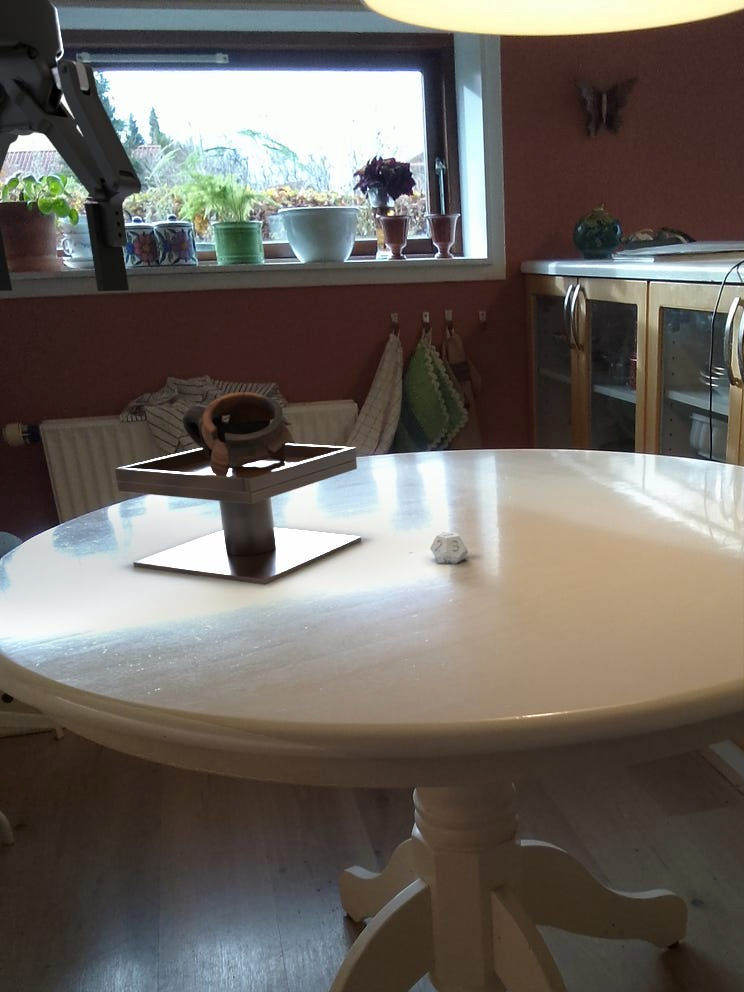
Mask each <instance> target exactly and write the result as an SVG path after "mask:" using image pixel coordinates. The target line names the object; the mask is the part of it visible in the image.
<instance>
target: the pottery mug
mask: <svg viewBox="0 0 744 992" xmlns="http://www.w3.org/2000/svg"><path fill="white" fill-rule="evenodd" d="M227 416H228V417H229V418H228V420H227V421H224V420H223V417H227ZM182 417H183V418H182V424H183V428H184V429H185V431H186V433H187V435H188V437H190V438H191V440H192V441H193V442H194V443H195V444H196V445H197V446H198V447H200V448H202V449H204V452H205V454H206V457H207V458H208V460H211V464H210V467H211V470H212V473H214V474H216V475H223V476H227V474H228V472H229V468H231V469H233V468H236V467H240V466H243V465H246V464H249V463H253V462H257V461H260V460H265V459H267V458H269V457H270V458H273V459H276V460H279V461H281V462H284V461H285V450H286V445H285V444H295V440H294V439H293V436H292V433H291V432H290V430H289V428H288V426H292V425H293V424H292V422H291V421H290V420H289V418H288V417H287V416H286V415H285V414H283V406H282V405H281V404H280V403H279V402H278V401H276V400H275V399H274V398H272V397H269V395H268V396H267V395H263V394H261V393H259V392H258V393H256V392H250V391H245V392H243V391H238V392H231V393H228V394H224V395H222V396H219V397H218V398H215V399H214V400H212V401H211V402H210V403H209V404H207V405H202V404H196V405H195V404H194V405H191V406H190V407H188V409H187V410H186V411H185V412H184V414H183V416H182Z"/></svg>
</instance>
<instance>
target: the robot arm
mask: <svg viewBox="0 0 744 992" xmlns="http://www.w3.org/2000/svg"><path fill="white" fill-rule="evenodd" d="M63 55H64V47H63V39H62V33H61V25H60V21H59V14H58V9H57V7H56V6H55V5H54V3H52V1H50V0H0V173H1V172H2V169H3V166H4V163H5V160H6V157H7V155H8V152H9V149H10V147H11V144H13V143H15V142H16V141H17V140H18V138H19V136H20V137H22V136H23V137H24V136H25V137H26V136H30V135H32V134H34V133H36V134H41V135H44V136H45V137H46V138H47V139H48V141H49V142H50V144H51V145H52V146H53V147H54V149H55V150H56V151H57V153H58V154H59V155H60V157H61V158H62V160H63V161H64V162H65V164H66V165H67V166H68V167H69V169H70V170H71V171H72V173H73V174H74V175H75V177H76V178H77V180H78V181H79V182H80V183H81V185H82V187H83V188H84V189H85V190H86V191H87V193H88V195H87V197H86V198H85V199H86V200H87V201H88V202H89V203H88V202H85V203H83V204H84V209H85V217H86V223H87V231H88V237H89V242H90V243H89V244H90V249H91V250H90V251H91V257H92V262H93V263H92V264H93V269H94V276H95V282H96V287H97V292H120V291H121V292H122V291H123V292H124V291H125V292H126V291H129V290H130V289H129V282H128V274H127V267H126V260H125V252H124V247H127V241H128V236H127V232H126V231H127V229H126V222H125V214H124V208H123V204H124V202H125V201H126V200H125V199H127V198H129V196H131V195H133V194H135V195H137V194H140V192H141V191H142V183H141V180H140V177H139V175H138V174H137V172H136V169H135V168H134V166H133V164H132V162H131V160H130V158H129V157H130V156H129V155H128V153H127V152H126V150H125V147H124V145H123V143H122V141H121V139H120V137H119V135H118V133H117V131H116V129H115V127H114V125H113V122H112V120H111V119H110V116H109V115H108V112H107V111H106V109H105V107H104V104H103V102H102V100H101V98H100V96H99V93H98V87H97V83H96V77H95V74H94V70H93V68H92V67H91V65H89V64H87V63H83V62H78V61H75V60H71V59H67V58H62V57H63ZM63 96H64V100H65V102H66V104H67V107H68V109H69V110H68V109H67V107H66V106H65V104H64V103H63V102H62V99H63ZM95 202H96V203H95ZM3 238H4V237H3V234H2V228H1V226H0V292H7V291H9V292H11V291H13V286H12V281H11V276H10V271H9V265H8V259H7V254H6V249H5V244H4V239H3Z"/></svg>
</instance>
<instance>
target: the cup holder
mask: <svg viewBox="0 0 744 992" xmlns="http://www.w3.org/2000/svg"><path fill="white" fill-rule="evenodd" d="M285 445H286V450H285V461H284V462H281V461H279V460H276V459H273V458H270V457H269V458H267V459H265V460H260V461H257V462H253V463H249V464H246V465H243V466H240V467H236V468H233V469H231V468H229V472H228V474H227V476H223V475H216V474H214V473H212V470H211V467H210V464H211V460H208V458H207V457H206V454H205V452H204V449H202V448H201V447H200V448H196V449H192V450H188V451H183V452H179V453H174V454H170V455H167V456H166V455H165V456H162V457H158V458H154V459H150V460H145V461H141V462H137V463H132V464H128V465H124V466H120V467H116V468H114V473H115V477H116V478H115V479H116V483H117V485H116V486H117V490H118V492H120V493H127V494H128V493H129V494H141V495H150V496H162V497H172V498H185V499H193V500H194V499H196V500H207V501H215V502H218V503H219V512H220V520H221V527H222V530H219V531H217V532H215V533H212V534H209V535H206V536H203V537H200V538H197V539H194V540H192V541H189V542H186V543H182V544H181V545H178V546H175V547H173V548H170V549H165V550H163V551H161V552H158V553H154V554H153V555H149V556H146V557H144V558H141V559H138V560H136V561H133V562H132V564H133V567H134V568H139V569H145V570H153V571H161V572H168V573H176V574H183V575H190V576H195V577H196V576H197V577H205V578H212V579H218V580H219V579H220V580H225V581H232V582H233V581H235V582H239V583H240V582H241V583H242V582H243V583H249V584H250V583H251V584H256V585H263V586H266V585H268V584H270V583H273V582H275V581H277V580H279V579H282V578H284V577H285V576H288V575H290V574H292V573H295V572H297V571H299V570H301V569H304V568H306V567H309V566H310V565H312V564H314V563H317V562H318V561H321V560H323V559H326V558H328V557H330V556H332V555H335V554H336V553H339V552H341V551H343V550H345V549H348V548H349V547H350V548H351V546H354V545H356V544H359V543H360V542H361V543H362V536H358V535H349V534H348V535H347V534H339V533H329V532H319V531H310V530H302V529H301V530H299V529H291V528H290V529H289V528H279V527H275V523H274V522H275V521H274V513H273V505H272V498H273V497H277V496H279V495H283V494H286V493H289V492H292V491H295V490H297V489H300V488H304V487H307V486H309V485H313V484H315V483H319V482H322V481H324V480H328V479H331V478H334V477H337V476H340V475H343V474H346V473H349V472H352V471H354V470H357V469H358V463H357V448H356V447H355V446H339V445H336V446H335V445H319V444H301V443H294V444H289V443H286V444H285Z"/></svg>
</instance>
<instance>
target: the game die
mask: <svg viewBox="0 0 744 992" xmlns="http://www.w3.org/2000/svg"><path fill="white" fill-rule="evenodd" d="M429 549H430V551H431V553H432V554H433V556H434V558H435V560H436V561H437V563H438V564H459V562H461V561H463V560H466V557H467V555H468V553H469V550H468V549H467V546H466V545H465V543H464V541H463V539H462V538H461V536H460V534H459V533H458V532H455V531H453V532H451V531H450V532H449V531H443V532H441V533H438V534H437V535H435V538H434V540H433V542H432V544H431V545H430V547H429Z"/></svg>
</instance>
